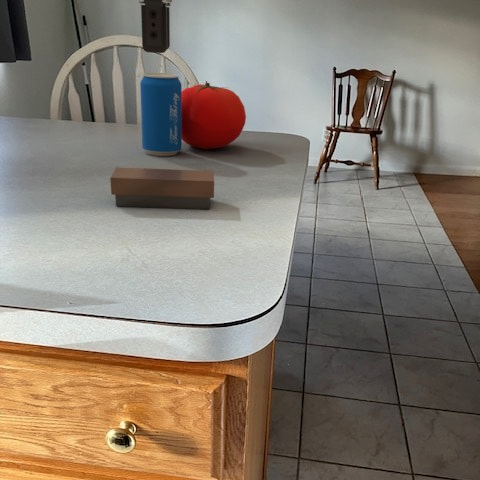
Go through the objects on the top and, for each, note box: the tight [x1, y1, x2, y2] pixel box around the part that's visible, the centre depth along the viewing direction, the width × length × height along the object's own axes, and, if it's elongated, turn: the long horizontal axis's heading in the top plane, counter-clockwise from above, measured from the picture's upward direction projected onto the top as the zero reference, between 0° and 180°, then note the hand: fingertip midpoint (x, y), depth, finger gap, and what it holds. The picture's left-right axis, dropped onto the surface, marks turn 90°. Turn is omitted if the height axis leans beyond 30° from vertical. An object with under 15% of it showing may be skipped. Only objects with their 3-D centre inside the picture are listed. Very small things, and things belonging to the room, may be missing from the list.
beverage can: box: [139, 72, 182, 157], centre depth 88 cm, size 6×6×12 cm
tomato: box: [181, 80, 247, 150], centre depth 94 cm, size 13×12×11 cm
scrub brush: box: [109, 167, 215, 210], centre depth 66 cm, size 12×5×4 cm, turn 94°
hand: (156, 49), depth 51 cm, fingers open, 4 cm apart
